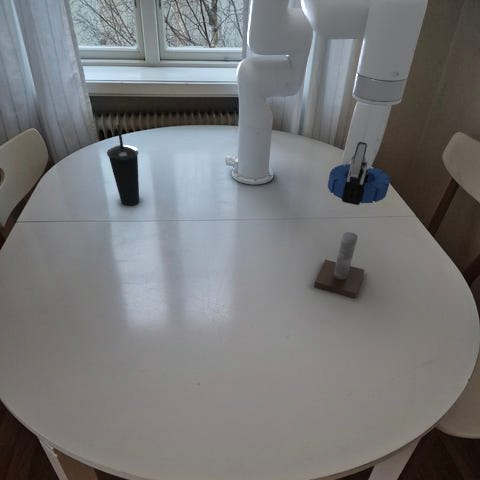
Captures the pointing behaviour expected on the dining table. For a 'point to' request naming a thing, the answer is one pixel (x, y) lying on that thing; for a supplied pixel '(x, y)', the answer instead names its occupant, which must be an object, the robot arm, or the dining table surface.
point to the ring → (372, 189)
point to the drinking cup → (125, 171)
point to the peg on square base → (341, 270)
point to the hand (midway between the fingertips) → (352, 197)
